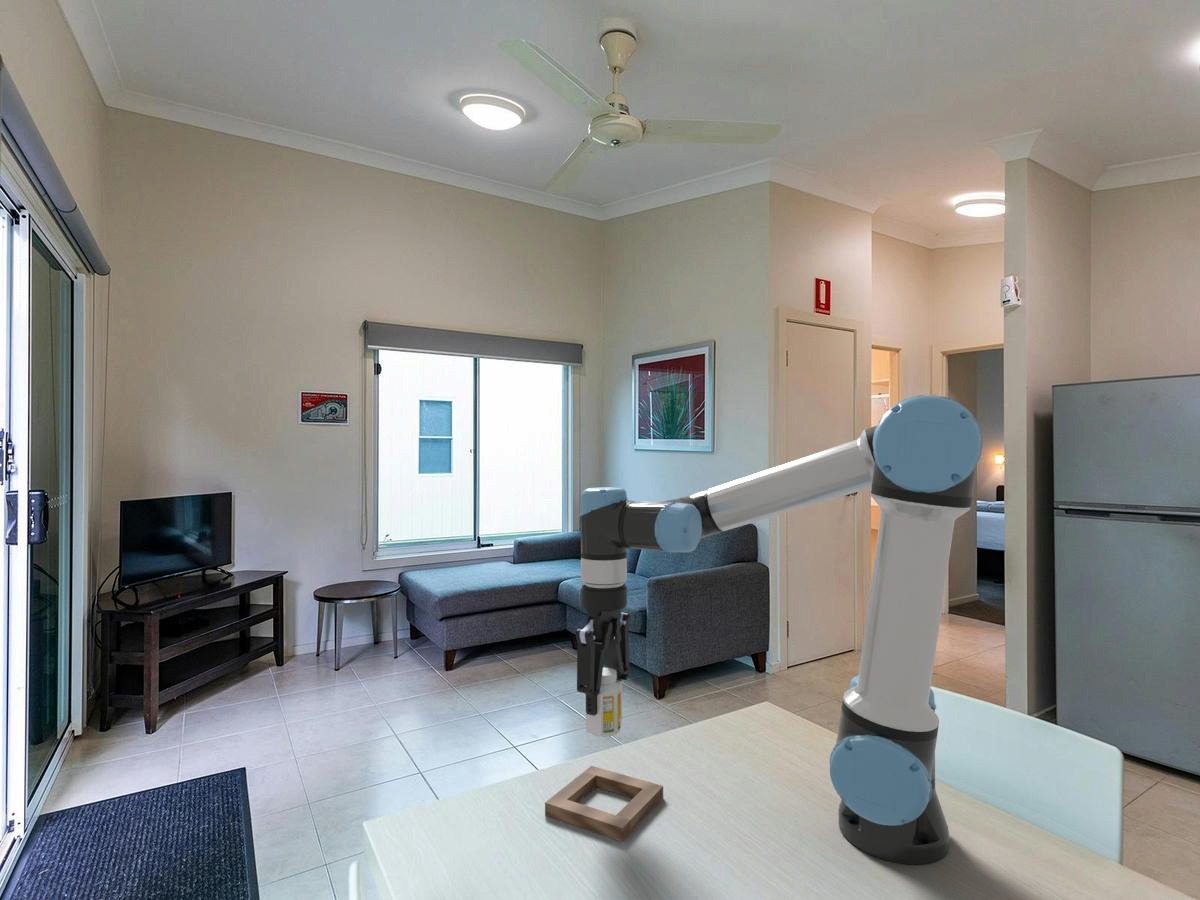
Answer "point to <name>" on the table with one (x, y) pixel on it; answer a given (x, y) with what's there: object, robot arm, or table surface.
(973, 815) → the table surface
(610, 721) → the supplement bottle
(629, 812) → the holder frame
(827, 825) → the table surface
